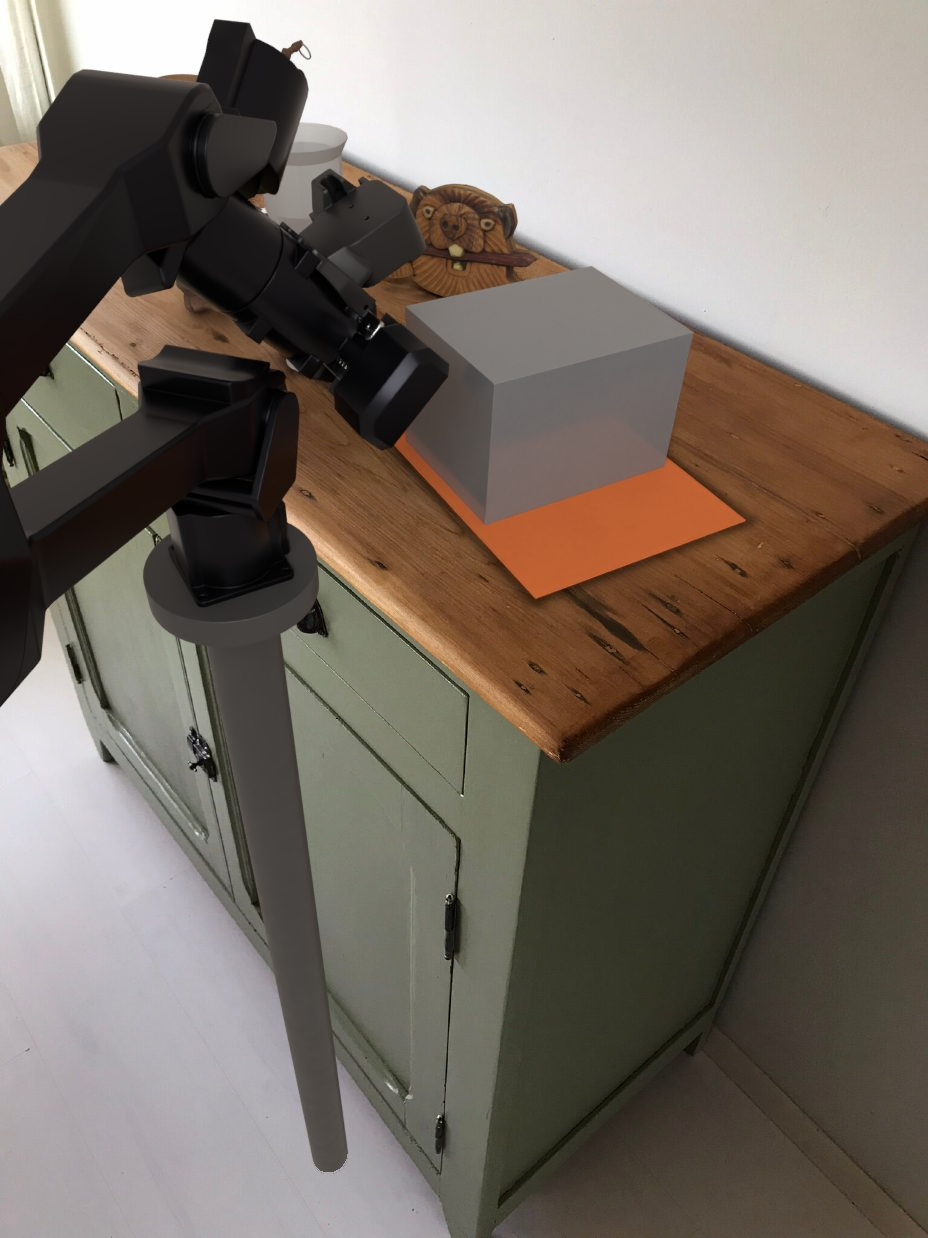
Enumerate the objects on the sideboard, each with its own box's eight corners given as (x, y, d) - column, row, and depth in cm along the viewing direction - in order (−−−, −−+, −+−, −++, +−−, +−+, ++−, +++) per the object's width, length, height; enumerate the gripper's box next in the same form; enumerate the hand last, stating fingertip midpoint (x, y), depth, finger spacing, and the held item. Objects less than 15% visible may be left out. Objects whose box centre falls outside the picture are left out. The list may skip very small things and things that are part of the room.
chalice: (328, 332, 87) (315, 116, 74) (373, 362, 83) (366, 140, 71) (258, 355, 83) (232, 132, 71) (301, 388, 79) (281, 158, 67)
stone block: (484, 525, 67) (494, 384, 59) (405, 440, 74) (405, 305, 66) (664, 466, 73) (693, 331, 65) (574, 394, 80) (591, 265, 73)
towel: (535, 602, 62) (535, 597, 61) (350, 400, 79) (350, 396, 79) (744, 524, 68) (746, 519, 68) (532, 354, 86) (533, 350, 86)
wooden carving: (364, 292, 93) (360, 185, 86) (379, 273, 96) (377, 169, 89) (529, 318, 90) (538, 210, 83) (539, 298, 93) (549, 192, 87)
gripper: (419, 199, 45) (578, 361, 57) (267, 98, 57) (426, 250, 69) (280, 386, 48) (461, 505, 60) (160, 251, 59) (332, 374, 71)
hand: (419, 397), depth 65 cm, fingers closed
